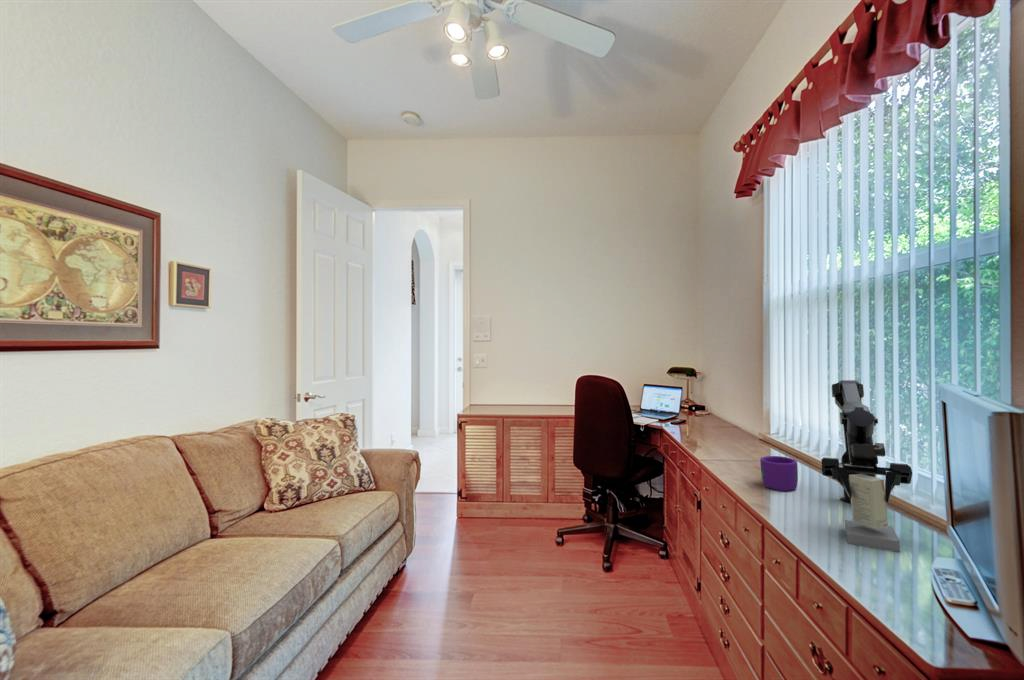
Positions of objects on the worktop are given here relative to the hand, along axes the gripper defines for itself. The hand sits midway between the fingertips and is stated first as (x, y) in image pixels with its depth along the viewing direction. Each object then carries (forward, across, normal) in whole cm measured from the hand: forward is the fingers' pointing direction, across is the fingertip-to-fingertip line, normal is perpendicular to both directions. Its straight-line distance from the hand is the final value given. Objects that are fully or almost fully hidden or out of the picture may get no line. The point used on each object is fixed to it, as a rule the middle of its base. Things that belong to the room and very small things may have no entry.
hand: (868, 499), depth 111 cm
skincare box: (+4, 0, +6) cm, 7 cm away
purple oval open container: (-21, -22, +37) cm, 48 cm away
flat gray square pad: (+7, 0, +9) cm, 11 cm away
